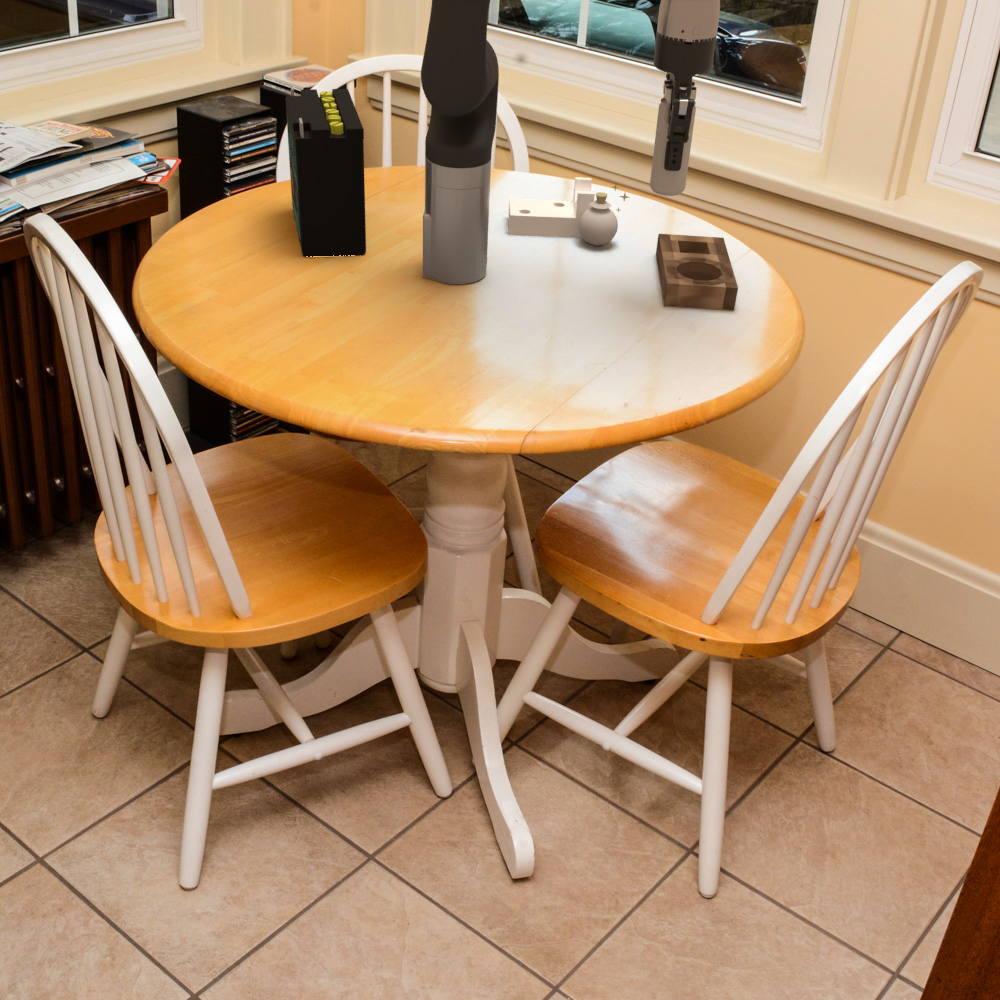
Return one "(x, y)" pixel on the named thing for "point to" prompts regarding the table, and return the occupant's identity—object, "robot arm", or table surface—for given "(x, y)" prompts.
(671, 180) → the beverage can
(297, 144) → the battery
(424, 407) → the table surface
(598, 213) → the round potion bottle
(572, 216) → the bracket
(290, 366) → the table surface
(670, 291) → the walnut bore block
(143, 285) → the table surface
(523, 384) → the table surface
